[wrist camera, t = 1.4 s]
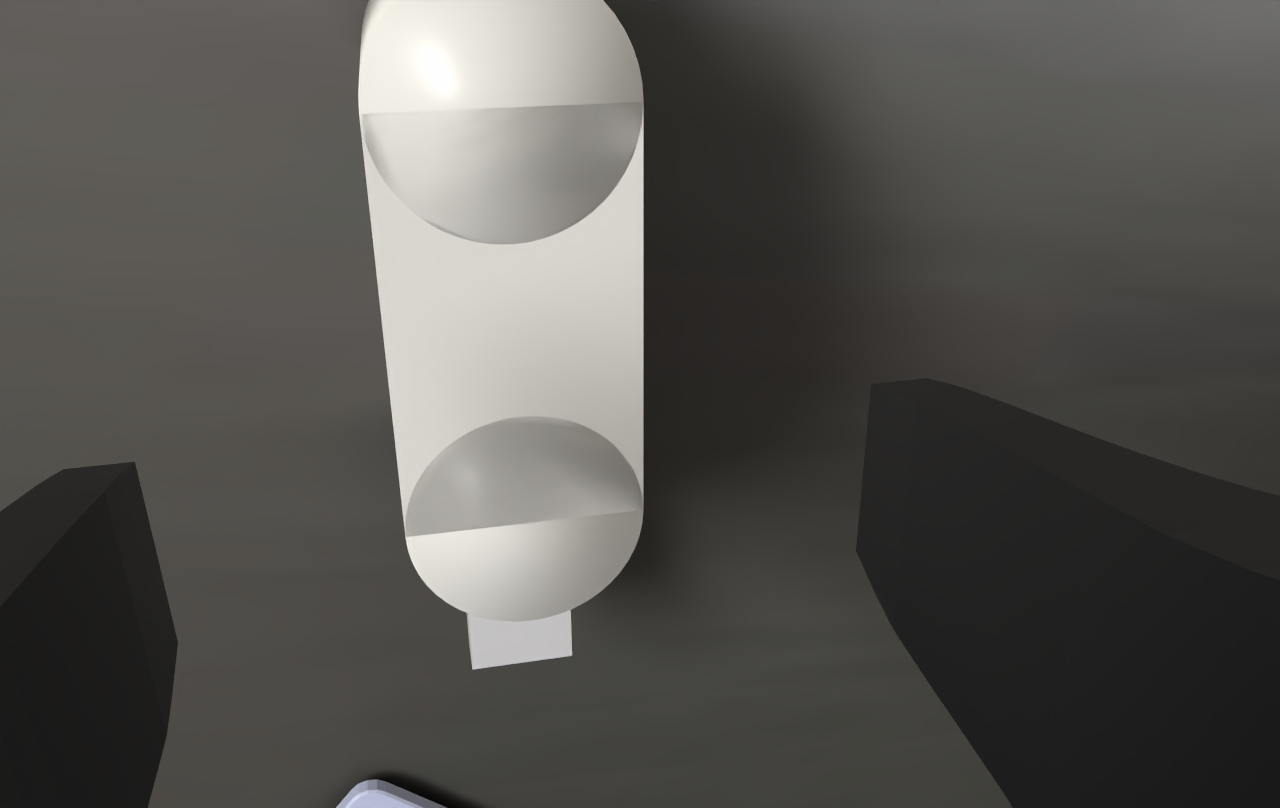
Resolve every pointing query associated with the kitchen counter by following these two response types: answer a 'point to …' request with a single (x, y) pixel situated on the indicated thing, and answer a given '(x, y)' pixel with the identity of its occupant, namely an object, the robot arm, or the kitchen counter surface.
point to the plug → (510, 301)
